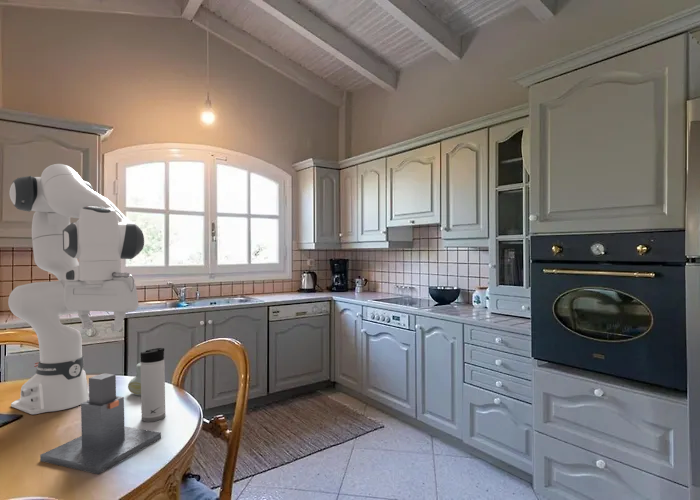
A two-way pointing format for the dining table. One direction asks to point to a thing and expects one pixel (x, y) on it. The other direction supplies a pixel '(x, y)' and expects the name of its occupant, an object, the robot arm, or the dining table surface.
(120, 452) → the stand
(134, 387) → the air freshener
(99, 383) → the post
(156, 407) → the travel mug
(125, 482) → the dining table surface
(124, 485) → the dining table surface
